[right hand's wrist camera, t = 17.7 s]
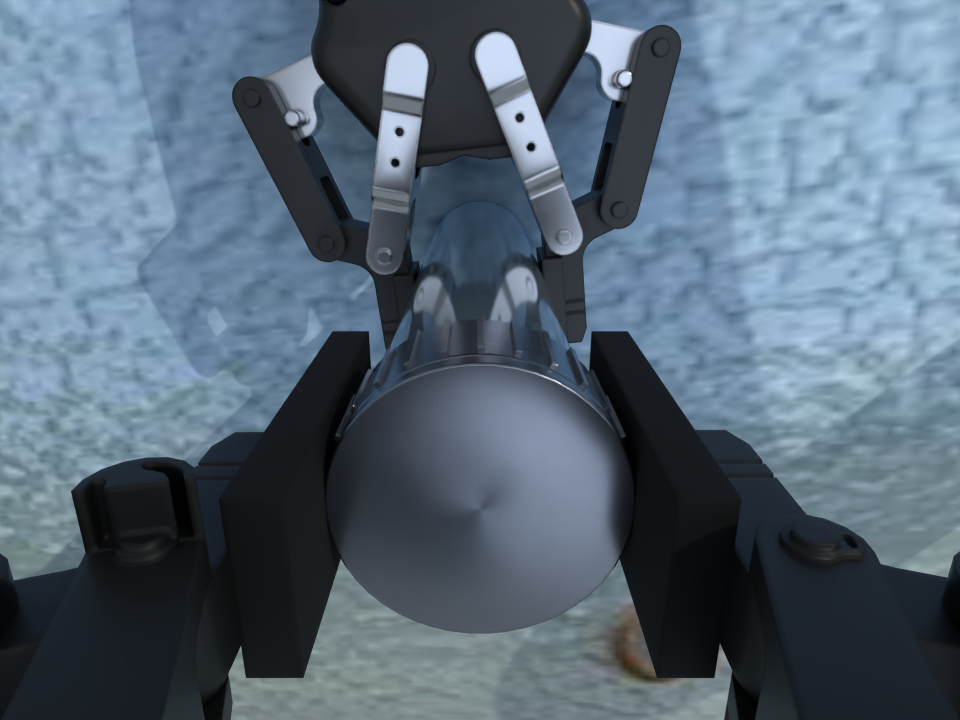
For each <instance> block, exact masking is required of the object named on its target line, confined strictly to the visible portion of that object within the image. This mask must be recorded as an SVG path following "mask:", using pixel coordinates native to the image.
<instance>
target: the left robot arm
mask: <svg viewBox="0 0 960 720" xmlns="http://www.w3.org/2000/svg"><path fill="white" fill-rule="evenodd" d="M680 51H681V40H680V37H679V35H678V33H677V32H676V31H675V30H674V29H673V28H672V27H670V26H667V25H658V26H655V27H653V28H651V29H649V30H646V31H642V30H638V29H633V28H628V27H623V26H619V25H614V24H609V23H604V22H600V21H595V20H591V15H590V11H589V9H588V6H587V4H586V3H585V1H584V0H319V17H318V22H317V27H316V30H315V33H314V36H313V39H312V45H311V55H309V56H307V57H305V58H303V59H301V60H299V61H297V62H295V63H293V64H291V65H289V66H287V67H285V68H283V69H281V70H278V71H276V72H274V73H272V74H270V75H268V76H266V77H244V78H242V79H240V80H239V81H238V82H237V83H236V84H235V86H234V88H233V92H232V99H233V103H234V106H235V108H236V110H237V112H238V114H239V115H240V117H241V119H242V121H243V123H244V125H245V127H246V129H247V131H248V133H249V135H250V137H251V138H252V140H253V142H254V144H255V146H256V148H257V150H258V152H259V154H260V156H261V158H262V160H263V162H264V163H265V165H266V167H267V169H268V171H269V173H270V175H271V177H272V179H273V181H274V183H275V185H276V187H277V188H278V190H279V192H280V194H281V196H282V198H283V200H284V202H285V204H286V206H287V208H288V210H289V212H290V213H291V215H292V217H293V219H294V221H295V223H296V225H297V227H298V229H299V231H300V233H301V235H302V236H303V238H304V240H305V242H306V244H307V246H308V248H309V250H310V252H311V253H312V255H313V256H314V257H315V258H317V259H318V260H320V261H323V262H333V261H335V260H339V261H343V262H348V263H352V264H356V265H359V266H361V267H363V268H365V269H366V270H367V271H368V272H369V273H370V274H371V276H372V278H373V280H374V283H375V288H376V294H377V300H378V306H379V312H380V318H381V324H382V330H383V336H384V342H385V348H386V350H387V349H388V348H389V347H390V346H391V344H392V341H393V338H394V336H395V333H396V331H397V328H398V326H399V323H400V320H401V318H402V315H403V313H404V310H405V307H406V305H407V302H408V300H409V297H410V295H411V292H412V289H413V287H414V284H415V282H416V279H417V277H418V274H419V271H420V265H419V261H415V262H413V261H412V254H411V247H410V241H411V235H412V228H413V221H414V214H415V208H416V201H417V197H418V192H419V187H420V181H421V174H422V168H423V167H429V166H438V165H441V164H444V163H446V162H449V161H451V160H454V159H456V158H458V157H461V156H470V157H477V158H483V159H489V160H490V159H498V158H507V157H511V159H512V162H513V164H514V167H515V169H516V172H517V174H518V177H519V179H520V182H521V184H522V186H523V189H524V191H525V194H526V196H527V199H528V201H529V204H530V206H531V209H532V211H533V214H534V216H535V219H536V222H537V224H538V227H539V229H540V232H541V240H542V247H537V248H536V251H537V263H538V265H539V268H540V271H541V273H542V276H543V278H544V281H545V283H546V286H547V289H548V291H549V294H550V296H551V299H552V301H553V304H554V306H555V309H556V312H557V314H558V317H559V319H560V322H561V324H562V327H563V330H564V332H565V335H566V337H567V340H568V342H569V343H577V342H582V340H583V337H584V334H585V331H586V328H587V326H586V312H585V310H586V309H585V293H584V276H583V253H584V250H585V248H586V247H587V245H588V244H589V243H590V242H591V241H592V240H593V239H595V238H597V237H598V236H601V235H603V234H605V233H607V232H609V231H611V230H613V229H622V228H625V227H627V226H629V225H630V224H631V223H632V222H633V221H634V220H635V218H636V217H637V214H638V210H639V206H640V202H641V199H642V195H643V191H644V187H645V184H646V180H647V176H648V172H649V168H650V165H651V161H652V157H653V153H654V150H655V146H656V142H657V138H658V134H659V131H660V127H661V123H662V119H663V115H664V112H665V108H666V104H667V100H668V97H669V93H670V89H671V85H672V81H673V78H674V74H675V70H676V66H677V62H678V59H679V55H680ZM582 56H586V57H587V58H589V59H590V60H591V61H592V62H593V64H594V66H595V68H596V74H597V76H596V87H597V90H598V92H599V94H600V95H601V96H602V97H603V98H604V99H606V100H608V101H612V104H611V108H610V112H609V117H608V121H607V125H606V129H605V133H604V138H603V142H602V146H601V150H600V154H599V159H598V163H597V167H596V171H595V175H594V180H593V184H592V188H591V192H589V193H587V194H585V195H583V196H581V197H579V198H577V199H575V200H573V201H571V199H570V196H569V193H568V191H567V188H566V185H565V183H564V179H563V175H562V172H561V168H560V166H559V163H558V160H557V158H556V155H555V152H554V149H553V147H552V144H551V141H550V139H549V136H548V133H547V131H546V128H545V125H544V123H545V122H546V120H547V118H548V116H549V114H550V113H551V111H552V109H553V107H554V106H555V104H556V102H557V100H558V99H559V97H560V95H561V93H562V91H563V90H564V88H565V86H566V84H567V83H568V81H569V79H570V77H571V76H572V74H573V72H574V70H575V69H576V67H577V65H578V63H579V61H580V60H581V58H582ZM327 87H328V88H329V89H330V90H331V91H332V92H333V93H334V94H335V95H336V96H337V97H338V98H339V100H340V101H341V102H342V103H343V104H344V105H345V106H346V107H347V108H348V109H349V111H350V112H351V113H352V114H353V115H354V116H355V117H356V118H357V119H358V120H359V121H360V123H361V124H362V125H363V126H364V127H365V128H366V129H367V130H368V131H369V132H370V133H371V135H372V136H373V137H374V138H375V139H376V140H377V141H378V143H377V151H376V159H375V167H374V175H373V183H372V193H371V197H372V208H371V216H370V223H368V222H364V221H360V220H355V219H353V217H352V215H351V213H350V211H349V209H348V207H347V205H346V203H345V201H344V199H343V197H342V195H341V193H340V191H339V189H338V187H337V185H336V183H335V181H334V179H333V177H332V175H331V173H330V171H329V168H328V166H327V164H326V162H325V160H324V158H323V156H322V154H321V152H320V150H319V148H318V146H317V144H316V142H315V140H314V138H313V136H315V135H316V134H317V133H319V131H320V130H321V128H322V125H323V114H322V111H321V107H320V99H321V95H322V93H323V92H324V90H325V89H326V88H327Z"/></svg>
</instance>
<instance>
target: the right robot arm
mask: <svg viewBox="0 0 960 720" xmlns="http://www.w3.org/2000/svg"><path fill="white" fill-rule="evenodd" d="M368 369H371V361H370V344H369V331H333V332H332V333H331V335H330V336H329V338H328V339H327V341H326V342H325V344H324V345H323V346H322V348H321V349H320V351H319V352H318V354H317V355H316V357H315V358H314V360H313V361H312V363H311V364H310V366H309V367H308V369H307V370H306V371H305V373H304V374H303V376H302V377H301V379H300V380H299V382H298V383H297V385H296V386H295V388H294V389H293V391H292V392H291V393H290V395H289V396H288V398H287V399H286V401H285V402H284V404H283V405H282V407H281V408H280V410H279V411H278V413H277V414H276V416H275V417H274V418H273V420H272V421H271V423H270V424H269V426H268V427H267V429H266V430H265V432H235V433H233V434H232V435H230V436H228V437H227V438H225V439H223V440H222V441H220V442H218V443H217V444H215V445H213V446H212V447H211V448H210V449H209V451H208V452H207V453H206V454H205V455H204V457H203V458H202V459H201V460H200V462H199V465H198V466H196V467H195V468H194V467H192V466H191V465H190V464H188V463H187V462H185V461H183V460H179V459H174V458H169V457H157V458H142V459H137V460H131V461H126V462H122V463H119V464H116V465H113V466H110V467H107V468H104V469H102V470H100V471H98V472H96V473H94V474H92V475H91V476H89V477H87V478H85V479H83V480H82V481H81V482H80V483H79V484H78V485H77V486H76V487H75V488H74V489H73V490H72V491H71V493H72V497H73V502H74V506H75V510H76V514H77V518H78V523H79V527H80V531H81V535H82V539H83V543H84V548H85V552H86V553H85V555H84V557H83V559H82V561H81V563H80V565H79V567H78V568H74V569H70V570H66V571H61V572H56V573H51V574H46V575H41V576H35V577H30V578H25V579H20V580H15V581H14V580H13V577H12V573H11V570H10V566H9V563H8V559H7V558H5V557H4V556H3V555H1V554H0V720H231V712H232V704H233V702H232V695H231V688H230V682H229V676H228V673H229V671H230V669H231V666H232V664H233V662H234V660H235V657H236V655H237V653H238V651H239V649H240V646H241V648H242V655H243V661H244V668H245V674H246V678H303V677H304V674H305V671H306V668H307V664H308V661H309V658H310V655H311V652H312V648H313V645H314V642H315V639H316V636H317V633H318V629H319V626H320V623H321V620H322V617H323V613H324V610H325V607H326V604H327V601H328V598H329V594H330V591H331V588H332V585H333V582H334V578H335V575H336V572H337V569H338V566H339V562H340V559H341V558H340V556H339V554H338V552H337V550H336V548H335V546H334V543H333V540H332V538H331V535H330V533H329V528H328V524H327V516H326V505H325V480H326V475H327V471H328V467H329V462H330V460H331V457H332V455H333V452H334V450H335V447H336V445H337V442H338V441H335V440H333V438H334V436H335V433H336V431H337V429H338V427H339V425H340V422H341V420H342V418H343V416H344V414H345V411H346V409H347V407H348V405H349V403H350V400H351V398H352V396H353V394H354V395H356V393H357V391H358V388H359V386H360V384H361V382H362V379H363V377H364V375H365V373H366V371H367V370H368ZM592 369H593V370H594V372H595V373H596V375H597V378H598V380H599V382H600V384H601V386H602V389H603V391H604V393H605V395H606V396H607V395H608V397H609V399H610V401H611V403H612V406H613V408H614V410H615V412H616V414H617V417H618V419H619V421H620V423H621V425H622V428H623V430H624V432H625V434H626V436H627V439H628V441H626V442H623V443H624V445H625V447H626V450H627V453H628V455H629V458H630V461H631V464H632V467H633V472H634V477H635V482H636V499H635V510H634V521H633V527H632V531H631V535H630V538H629V540H628V542H627V545H626V547H625V549H624V552H623V554H622V555H621V557H620V561H621V564H622V568H623V571H624V574H625V577H626V580H627V583H628V587H629V590H630V593H631V596H632V599H633V603H634V606H635V609H636V612H637V615H638V618H639V622H640V625H641V628H642V631H643V634H644V638H645V641H646V644H647V647H648V650H649V654H650V657H651V660H652V663H653V666H654V669H655V673H656V676H657V678H714V677H715V670H716V664H717V657H718V651H719V644H721V646H722V649H723V651H724V653H725V655H726V658H727V660H728V662H729V664H730V666H731V669H732V676H731V682H730V688H729V694H728V700H727V706H726V712H725V718H724V720H960V552H959V553H957V554H956V555H955V556H954V558H953V561H952V565H951V568H950V572H949V575H948V578H946V577H941V576H936V575H931V574H925V573H920V572H915V571H910V570H904V569H899V568H894V567H890V566H886V565H882V564H880V562H879V560H878V558H877V556H876V554H875V552H874V551H873V550H872V548H871V547H870V546H869V545H868V544H867V542H866V541H865V540H864V539H863V538H861V537H860V536H858V535H857V534H855V533H854V532H852V531H851V530H849V529H848V528H846V527H844V526H841V525H839V524H836V523H834V522H831V521H829V520H826V519H823V518H818V517H814V516H809V515H806V513H805V512H804V511H803V510H802V509H801V507H800V506H799V505H798V504H797V502H796V501H795V500H794V499H793V497H792V496H791V495H790V494H789V493H788V491H787V490H786V489H785V488H784V486H783V485H782V484H781V483H780V482H779V480H778V479H777V478H774V477H773V473H772V472H771V471H770V469H769V468H768V467H767V466H766V464H762V460H761V458H760V457H759V456H758V455H757V453H756V452H755V451H754V450H753V449H752V447H751V446H750V445H749V444H748V443H746V442H744V441H743V440H741V439H739V438H738V437H736V436H734V435H733V434H731V433H729V432H728V431H726V430H694V428H693V427H692V425H691V424H690V422H689V421H688V419H687V418H686V416H685V415H684V413H683V412H682V410H681V409H680V408H679V406H678V405H677V403H676V402H675V400H674V399H673V397H672V396H671V394H670V393H669V391H668V390H667V388H666V387H665V385H664V384H663V383H662V381H661V380H660V378H659V377H658V375H657V374H656V372H655V371H654V369H653V368H652V366H651V365H650V363H649V362H648V361H647V359H646V358H645V356H644V355H643V353H642V352H641V350H640V349H639V347H638V346H637V344H636V343H635V341H634V340H633V339H632V337H631V336H630V334H629V333H628V331H592V334H591V351H590V368H589V371H591V370H592Z"/></svg>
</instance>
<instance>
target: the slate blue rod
mask: <svg viewBox="0 0 960 720" xmlns="http://www.w3.org/2000/svg"><path fill="white" fill-rule="evenodd" d="M478 316H484V320H496V321H503V322H510V323H511V320H517V322H518V325H521V326H524V327H528V328H530V329H532V330H535V331H537V332H540V333H541V332H542V331H543V330H544V331H546V332H548V333H549V336H550V338H551V339H553V340H555V341H556V342H558V343H559V344H561V345H562V346H563V347H565V348H566V349H567V350H568V349H569V348H570V345H569V342H568V340H567V337H566V335H565V332H564V330H563V327H562V324H561V322H560V319H559V317H558V314H557V312H556V309H555V306H554V304H553V301H552V299H551V296H550V294H549V291H548V289H547V286H546V283H545V281H544V278H543V276H542V273H541V271H540V268H539V265H538V263H537V260H536V258H535V255H534V253H533V250H532V247H531V245H530V242H529V240H528V237H527V235H526V232H525V230H524V228H523V226H522V224H521V223H520V221H519V220H518V219H517V217H516V216H515V215H514V214H512V213H511V212H510V211H509V210H507V209H506V208H504V207H502V206H500V205H498V204H495V203H491V202H486V201H474V202H469V203H465V204H462V205H460V206H458V207H456V208H454V209H453V210H451V211H450V212H449V213H448V214H447V215H446V216H445V217H444V218H443V219H442V220H441V222H440V223H439V225H438V226H437V228H436V230H435V233H434V235H433V238H432V240H431V243H430V246H429V248H428V251H427V253H426V256H425V258H424V261H423V264H422V266H421V269H420V271H419V274H418V277H417V279H416V282H415V284H414V287H413V289H412V292H411V295H410V297H409V300H408V302H407V305H406V307H405V310H404V313H403V315H402V318H401V320H400V323H399V326H398V328H397V331H396V333H395V336H394V338H393V341H392V344H391V346H390V347H392V348H393V349H395V348H396V347H397V346H399V345H400V344H401V343H403V342H404V341H406V340H408V339H409V338H411V337H412V335H413V332H414V331H416V330H419V331H420V333H421V332H423V331H426V330H428V329H431V328H433V327H436V326H440V325H444V321H445V320H449V319H450V320H451V323H452V322H457V321H466V320H478Z"/></svg>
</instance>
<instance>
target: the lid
mask: <svg viewBox="0 0 960 720" xmlns="http://www.w3.org/2000/svg"><path fill="white" fill-rule="evenodd" d="M333 440H335V441H338V442H337V445H336V447H335V450H334V452H333V455H332V457H331V460H330V462H329V467H328V471H327V475H326V480H325V505H326V516H327V524H328V528H329V533H330V535H331V538H332V540H333V543H334V546H335V548H336V550H337V552H338V554H339V556H340V558H341V559H342V561H343V563H344V565H345V566H346V568H347V569H348V570H349V571H350V573H351V574H352V575H353V577H354V578H355V579H356V580H357V581H358V582H359V584H360V585H361V586H362V587H363V588H364V589H365V590H366V591H367V592H368V593H370V594H371V595H372V596H373V597H375V598H376V599H377V600H378V601H380V602H381V603H382V604H384V605H385V606H387V607H389V608H390V609H392V610H394V611H395V612H397V613H399V614H401V615H403V616H405V617H407V618H409V619H411V620H414V621H416V622H419V623H422V624H425V625H428V626H431V627H434V628H439V629H443V630H448V631H454V632H463V633H498V632H508V631H512V630H517V629H522V628H526V627H530V626H533V625H536V624H539V623H542V622H545V621H547V620H549V619H551V618H554V617H556V616H558V615H560V614H562V613H564V612H565V611H567V610H569V609H570V608H572V607H574V606H576V605H577V604H578V603H580V602H581V601H582V600H583V599H585V598H586V597H587V596H589V595H590V594H591V593H592V592H593V591H594V590H595V589H596V588H597V587H598V586H599V585H600V584H601V583H602V582H603V581H604V580H605V579H606V578H607V576H608V575H609V574H610V572H611V571H612V570H613V569H614V567H615V566H616V564H617V562H618V561H619V559H620V557H621V555H622V554H623V552H624V549H625V547H626V545H627V542H628V540H629V538H630V535H631V531H632V527H633V521H634V510H635V499H636V482H635V477H634V472H633V467H632V464H631V461H630V458H629V455H628V453H627V450H626V447H625V445H624V443H623V442H626V441H628V439H627V436H626V434H625V432H624V430H623V428H622V425H621V423H620V421H619V419H618V417H617V414H616V412H615V410H614V408H613V406H612V403H611V401H610V399H609V397H608V395H607V396H606V395H605V393H604V391H603V389H602V386H601V384H600V382H599V380H598V378H597V375H596V373H595V372H594V370H593V369H592V370H591V371H588V370H587V369H586V367H585V366H584V365H583V364H582V363H581V362H580V361H579V359H578V357H577V354H576V352H575V350H574V349H573V348H571V347H570V348H569V349H568V350H567V349H566V348H565V347H563V346H562V345H561V344H559V343H558V342H556V341H555V340H553V339H551V338H550V336H549V333H548V332H546V331H544V330H543V331H542V332H541V333H540V332H537V331H535V330H532V329H530V328H528V327H524V326H521V325H518V322H517V320H511V323H510V322H503V321H496V320H484V316H478V320H466V321H457V322H452V323H451V320H450V319H449V320H445V321H444V325H440V326H436V327H433V328H431V329H428V330H426V331H423V332H421V333H420V331H419V330H416V331H414V332H413V335H412V337H411V338H409V339H408V340H406V341H404V342H403V343H401V344H400V345H399V346H397V347H396V348H395V349H393V348H392V347H389V348H388V349H387V350H386V352H385V355H384V357H383V359H382V360H381V361H380V362H379V363H378V364H377V366H376V367H375V368H374V370H373V371H372V370H371V369H368V370H367V371H366V373H365V375H364V377H363V379H362V382H361V384H360V386H359V388H358V391H357V393H356V395H354V394H353V396H352V398H351V400H350V403H349V405H348V407H347V409H346V411H345V414H344V416H343V418H342V420H341V422H340V425H339V427H338V429H337V431H336V433H335V436H334V438H333Z"/></svg>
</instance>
